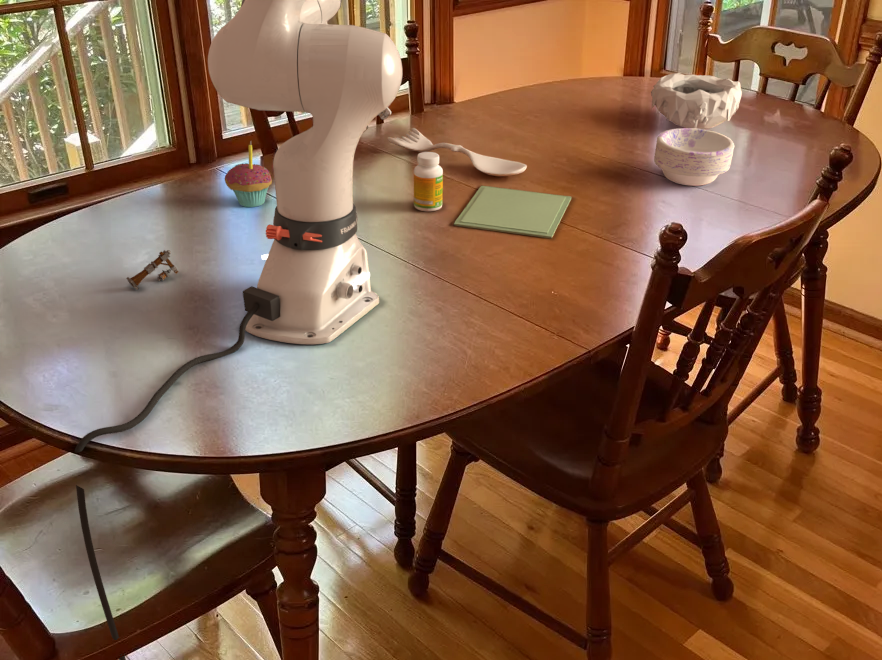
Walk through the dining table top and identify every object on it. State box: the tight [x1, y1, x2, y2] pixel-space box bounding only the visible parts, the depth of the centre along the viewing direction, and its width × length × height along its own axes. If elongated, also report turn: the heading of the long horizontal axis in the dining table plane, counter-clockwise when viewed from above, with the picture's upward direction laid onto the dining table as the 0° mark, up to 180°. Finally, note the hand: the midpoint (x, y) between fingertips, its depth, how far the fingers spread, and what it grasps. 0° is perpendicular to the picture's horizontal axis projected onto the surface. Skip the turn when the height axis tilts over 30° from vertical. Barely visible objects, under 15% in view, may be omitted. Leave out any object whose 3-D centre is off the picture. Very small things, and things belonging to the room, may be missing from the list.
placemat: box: [453, 185, 572, 239], centre depth 171 cm, size 20×18×1 cm
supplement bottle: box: [413, 151, 444, 212], centre depth 170 cm, size 5×5×10 cm
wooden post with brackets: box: [125, 249, 179, 291], centre depth 145 cm, size 2×8×4 cm, turn 131°
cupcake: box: [224, 140, 273, 208], centre depth 169 cm, size 9×8×12 cm
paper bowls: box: [653, 127, 735, 187], centre depth 185 cm, size 15×15×8 cm
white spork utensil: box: [387, 127, 528, 177], centre depth 191 cm, size 9×32×4 cm, turn 53°
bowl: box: [650, 72, 743, 130], centre depth 213 cm, size 21×20×10 cm
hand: (376, 124), depth 167 cm, fingers open, 8 cm apart
